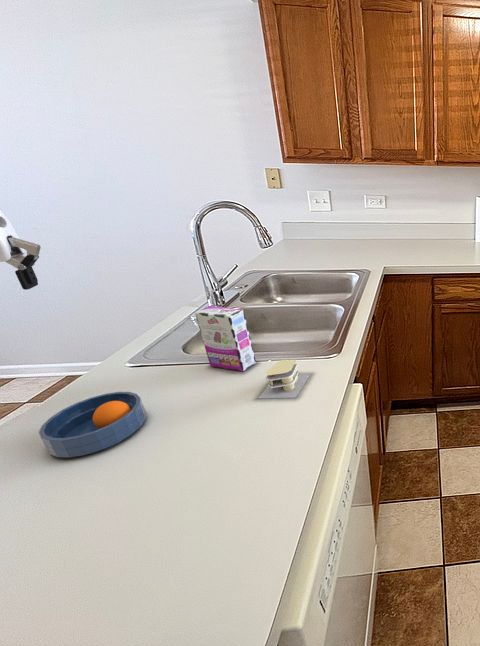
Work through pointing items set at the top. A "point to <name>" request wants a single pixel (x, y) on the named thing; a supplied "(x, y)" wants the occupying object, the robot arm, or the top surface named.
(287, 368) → the stacked layers on plate
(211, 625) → the top surface
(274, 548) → the top surface
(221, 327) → the candy bar box
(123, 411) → the orange
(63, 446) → the bowl
